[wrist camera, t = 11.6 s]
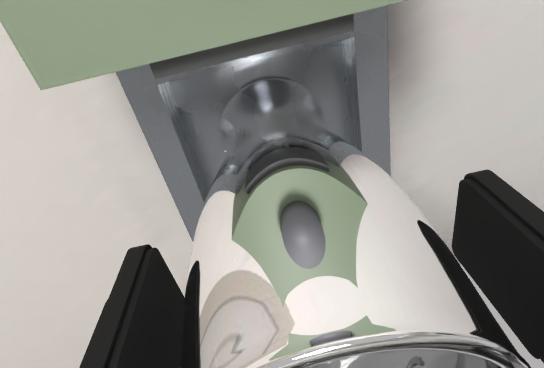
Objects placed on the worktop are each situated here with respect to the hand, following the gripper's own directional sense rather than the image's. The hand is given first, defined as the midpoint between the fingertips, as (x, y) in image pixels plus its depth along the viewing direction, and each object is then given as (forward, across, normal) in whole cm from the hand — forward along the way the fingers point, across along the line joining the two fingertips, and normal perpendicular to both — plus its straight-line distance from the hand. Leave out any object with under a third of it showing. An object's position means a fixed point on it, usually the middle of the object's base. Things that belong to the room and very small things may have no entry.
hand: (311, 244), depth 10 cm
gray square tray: (+11, +1, 0) cm, 11 cm away
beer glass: (+10, 0, 0) cm, 10 cm away
